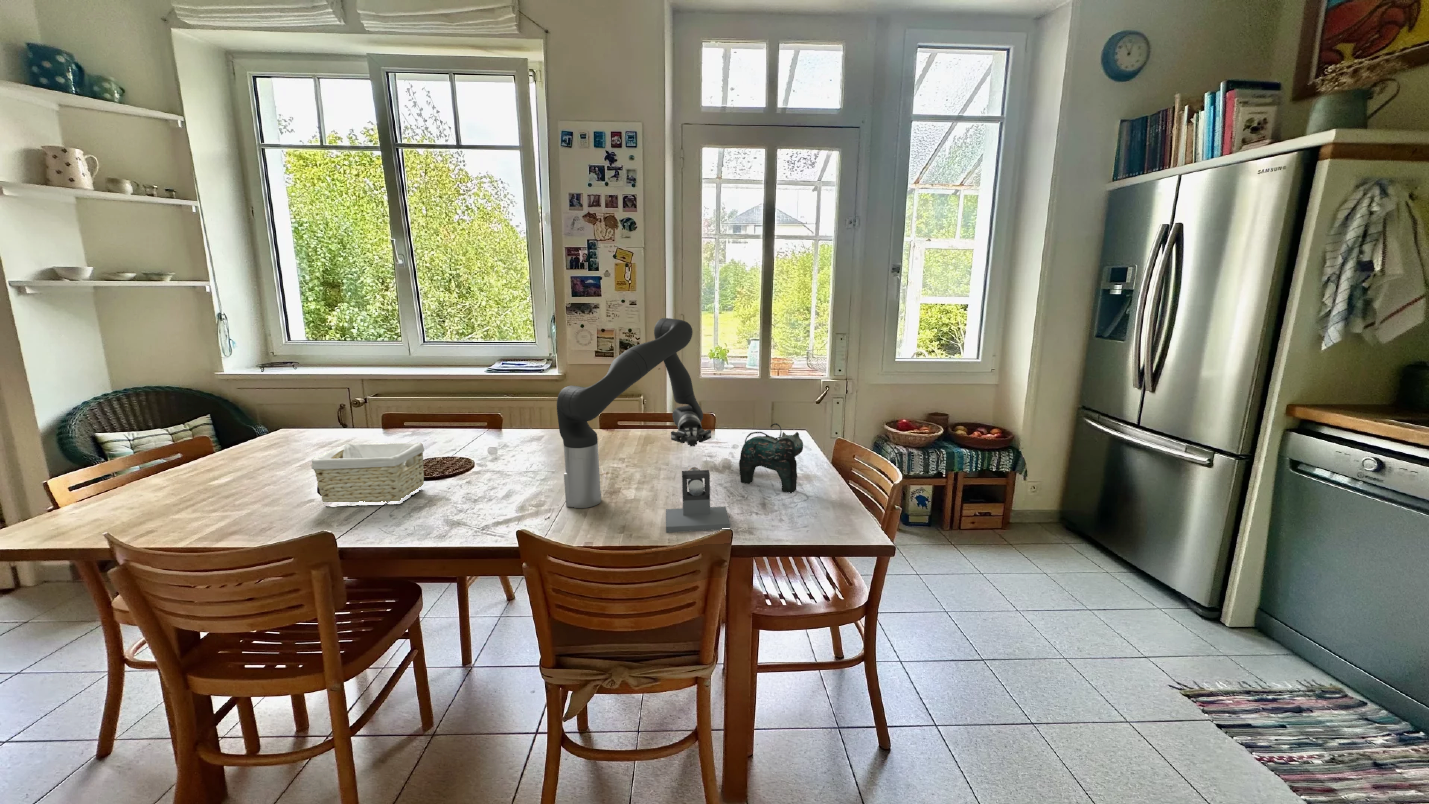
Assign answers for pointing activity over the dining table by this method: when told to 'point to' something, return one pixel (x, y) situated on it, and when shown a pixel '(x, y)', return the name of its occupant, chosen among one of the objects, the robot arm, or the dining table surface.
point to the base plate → (696, 517)
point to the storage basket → (369, 472)
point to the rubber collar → (696, 475)
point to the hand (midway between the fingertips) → (692, 443)
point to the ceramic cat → (771, 457)
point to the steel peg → (695, 484)
